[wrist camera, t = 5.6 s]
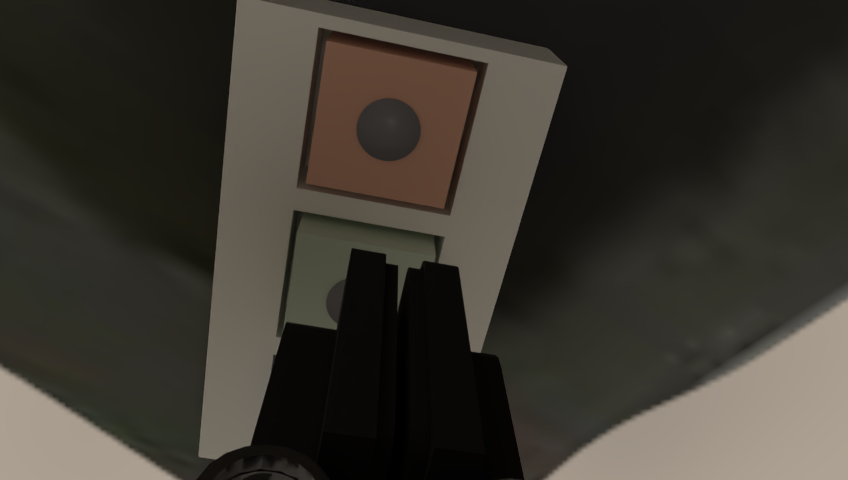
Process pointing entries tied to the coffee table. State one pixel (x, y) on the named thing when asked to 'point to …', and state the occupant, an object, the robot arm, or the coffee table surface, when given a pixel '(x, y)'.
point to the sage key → (343, 263)
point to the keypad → (290, 195)
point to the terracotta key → (389, 119)
